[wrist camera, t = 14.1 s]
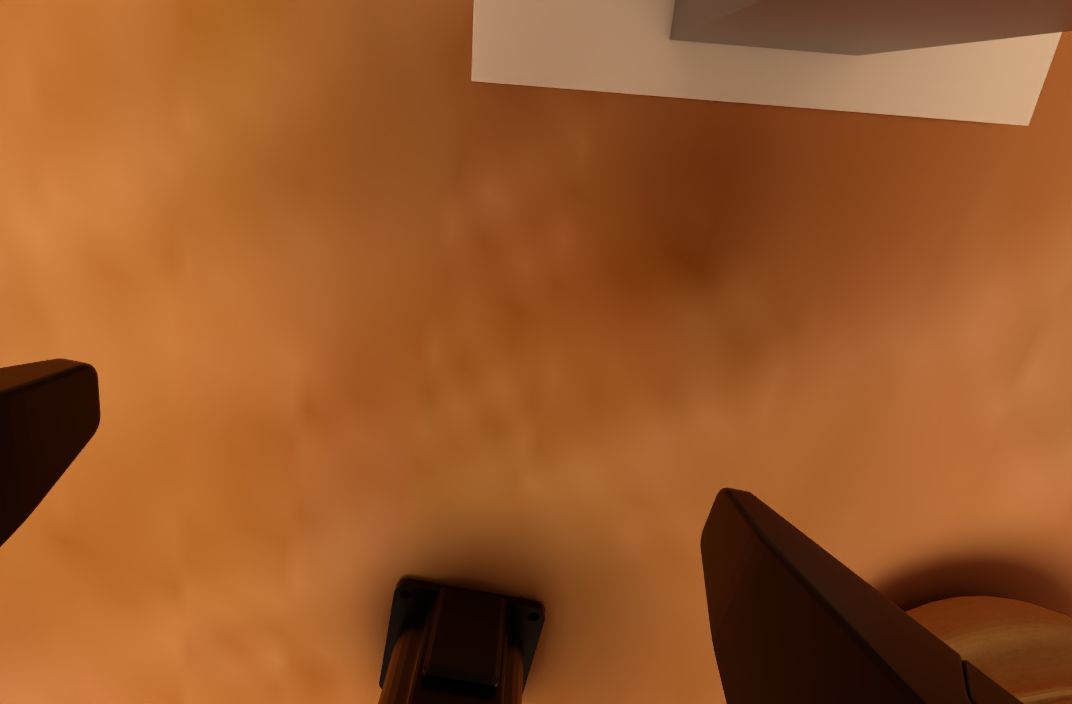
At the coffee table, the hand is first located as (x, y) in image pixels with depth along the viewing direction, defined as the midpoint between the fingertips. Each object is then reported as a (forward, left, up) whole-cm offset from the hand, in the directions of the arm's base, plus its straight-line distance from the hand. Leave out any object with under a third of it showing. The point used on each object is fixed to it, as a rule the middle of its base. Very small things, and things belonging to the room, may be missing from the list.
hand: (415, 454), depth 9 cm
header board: (+10, -6, -13) cm, 17 cm away
